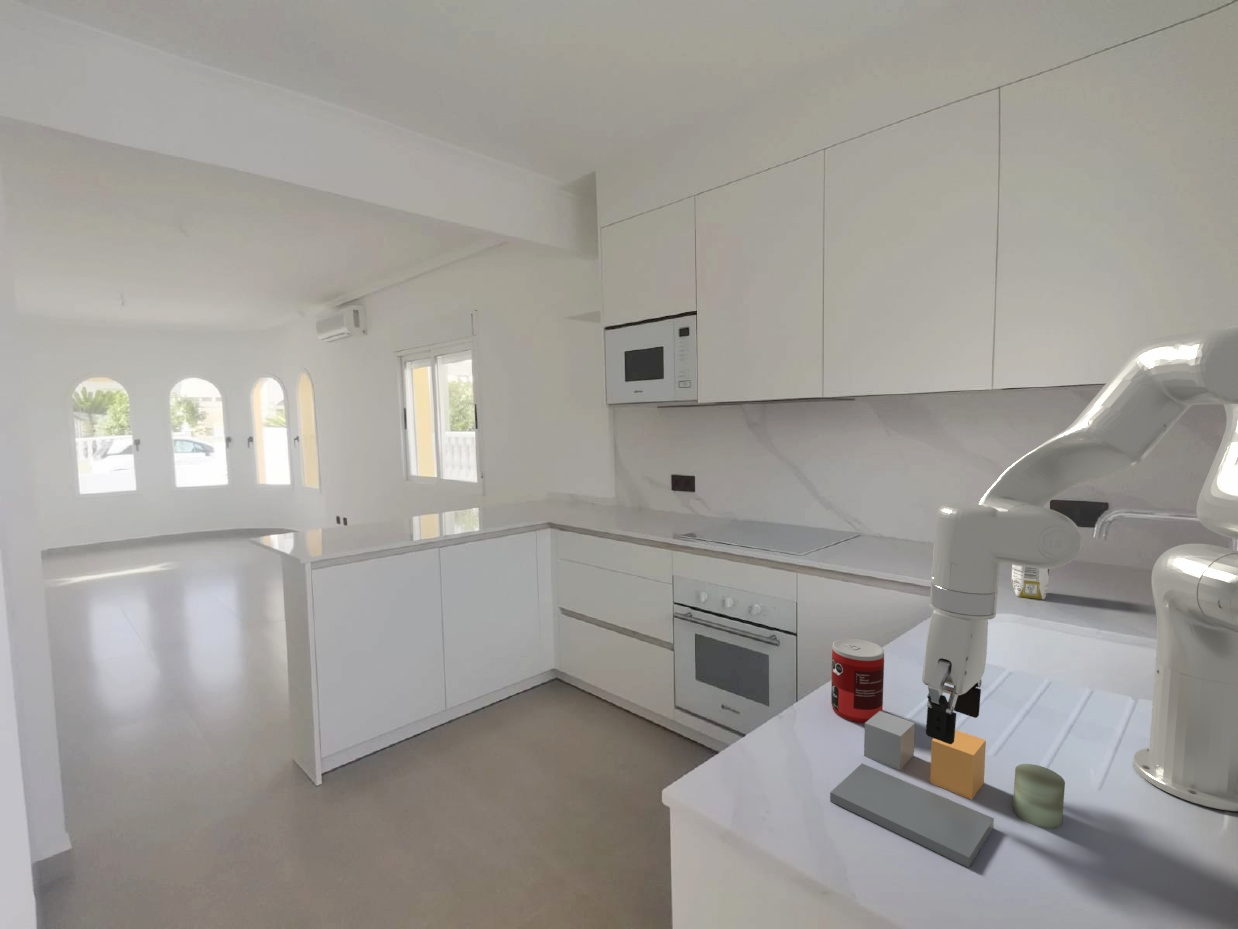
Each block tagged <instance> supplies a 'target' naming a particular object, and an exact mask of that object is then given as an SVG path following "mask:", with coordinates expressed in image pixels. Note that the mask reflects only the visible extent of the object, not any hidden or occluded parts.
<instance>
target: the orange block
mask: <svg viewBox="0 0 1238 929" xmlns="http://www.w3.org/2000/svg"><path fill="white" fill-rule="evenodd" d="M986 743H987V742H986V739H984V738H981V737H977V736H975V735H971V734H968V733H967V732H963V731H961V730H957V729H955V738H954V742H953V743H952V744H948V743H945V742H942V741H940V740H937V739H935V738H931V752H930V776H929V777H930V779H929V782H930V784H932V785H935V786H937V787H939V788H942V789H945V790H947V791H950V792H952V793H955V794H957V795H959V796H962V797H964V798H966V799H968V800H971V801H972V800H973V799H974V798H975V796H976V794H977V793H978V792H979V791H980V789H981V788H982V786H983V785H984V783H985V772H986V771H985V767H986V765H985V764H986V762H985V761H986V749H987V748H986Z"/></svg>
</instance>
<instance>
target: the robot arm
mask: <svg viewBox="0 0 1238 929" xmlns="http://www.w3.org/2000/svg"><path fill="white" fill-rule="evenodd" d="M1195 405H1196V406H1197V405H1223V407H1224V410H1225V411H1224V412H1225V416H1226V424H1225V430H1224V433H1223V436H1222V439H1221V442H1220V445H1219V446H1218V449H1217V451H1216V454H1215V456H1214V459H1213V461H1212V464H1211V465H1210V469H1209V471H1208V474H1207V476H1206V478H1205V480H1204V482H1203V485H1202V488H1201V490H1200V492H1199V496H1198V499H1197V502H1196V511H1195V512H1196V517H1197V519H1198V521H1199V523H1200V524H1201V525H1202V526H1203V527H1204V528H1206V529H1207V530H1209V531H1211V532H1213V533H1215V534H1216V535H1217V534H1218V535H1220V536H1223V537H1226V538H1230V539H1233V540H1237V541H1238V324H1235V325H1231V326H1228V327H1225V328H1222V329H1213V330H1207V331H1198V332H1192V333H1191V332H1190V333H1182V334H1175V335H1167V336H1163V337H1158V338H1155V339H1151V340H1149V341H1147V342H1145V343H1143V344H1142V345H1140V346H1139V347H1137V348H1136V349H1135V350H1134V351H1133V352H1132V353H1131V354H1130V355H1129V356H1127V358H1126V359H1125V361H1123V363H1122V364H1121V365H1120V367H1119V368H1118V369H1117V370H1115V373H1113V375H1112V376H1111V377H1110V379H1108V380H1107V382H1106V383H1105V384H1104V385H1103V387H1102V388H1101V389H1100V390H1099V392H1098V393H1097V394H1096V395H1095V396H1094V397H1093V398H1092V400H1091V401H1090V402H1088V404H1087V406H1086V407H1085V408H1084V409H1083V411H1082V412H1080V414H1079V415H1078V416H1077V417H1076V418H1075V420H1074V421H1073V422H1072V423H1071V424H1070V425H1069V426H1067V428H1065V429H1064V430H1063V431H1061V432H1059V433H1057V434H1056V435H1054V436H1052V437H1051V438H1049V439H1048V440H1046V441H1045V442H1043V443H1041V444H1040V445H1039V446H1037V447H1035V448H1034V449H1033V450H1031V451H1030V452H1028V453H1026V454H1025V455H1023V456H1021V457H1020V458H1019V459H1018V460H1016V461H1015V462H1013V463H1012V464H1010V466H1008V468H1006V469H1005V470H1004V471H1003V472H1002V473H1001V475H999V477H998V478H997V479H996V480H995V481H994V482H993V484H992V485H991V486H990V487H989V489H987V491H986V492H984V494H983V496H982V497H981V498H980V500H979V501H978V502H977V503H970V502H969V503H968V502H967V503H966V502H950V503H949V502H948V503H946V504H945V503H944V504H942V505H940V506H939V507H938V509H937V511H936V513H935V521H934V522H935V523H934V536H933V538H934V539H933V551H932V566H931V576H930V577H931V581H930V589H929V590H930V593H929V608H930V609H931V610H932V612H931V617H930V621H929V626H928V631H927V638H926V645H925V650H924V651H925V652H924V660H923V667H922V668H923V669H922V683H923V684H924V685H925V686H927V688H928V693H927V694H928V695H926V696H927V697H926V698H927V704H926V706H927V709H926V710H927V711H926V712H927V713H926V723H925V725H926V727H925V735H926V736H928V737H930V738H931V739H933V738H935V739H937V740H940V741H942V742H945V743H948V744H952V743H953V742H954V738H955V730H956V722H957V713H959V714H962V715H966V716H969V717H972V718H975V719H976V718H978V717H979V716H980V709H981V708H980V706H981V697H982V696H981V695H982V694H981V693H982V692H981V691H982V689H981V687H982V682H983V681H982V678H983V676H984V674H985V669H986V662H987V653H988V652H987V650H988V632H989V631H988V629H989V628H988V627H989V620H993V619H995V618H996V616H997V605H998V594H999V590H998V588H999V580H1000V579H999V578H1000V577H999V576H1000V567H1001V565H1002V564H1007V565H1012V564H1013V565H1019V566H1024V567H1030V568H1037V569H1049V570H1052V569H1057V568H1061V567H1063V566H1066V565H1068V564H1069V563H1071V562H1072V561H1074V559H1075V558H1076V557H1078V555H1079V553H1080V552H1081V549H1082V545H1083V537H1082V532H1081V530H1080V528H1079V527H1078V526H1077V524H1076V523H1075V521H1073V519H1071V518H1069V516H1067V515H1065V514H1063V513H1061V512H1059V511H1057V510H1055V509H1050V508H1047V507H1045V506H1047V504H1049V503H1050V502H1051V501H1052V500H1053V499H1055V498H1056V497H1057V496H1059V495H1060V494H1062V493H1064V492H1065V491H1068V490H1069V489H1071V488H1073V487H1076V486H1078V485H1081V484H1084V483H1087V482H1091V481H1094V480H1098V479H1103V478H1107V477H1110V476H1113V475H1117V474H1119V473H1123V472H1126V471H1128V470H1131V469H1134V468H1135V467H1137V466H1139V465H1141V463H1142V462H1143V461H1144V460H1146V458H1147V457H1148V455H1150V453H1151V452H1152V451H1153V450H1154V448H1156V446H1157V445H1158V444H1159V443H1160V442H1161V440H1162V439H1163V438H1164V437H1165V436H1166V435H1167V433H1169V432H1170V430H1171V429H1172V427H1173V426H1174V425H1175V424H1176V423H1177V422H1178V420H1180V418H1182V416H1183V415H1184V414H1185V413H1186V412H1187V411H1188V410H1189V409H1190V408H1191V407H1192V406H1195ZM1150 579H1151V591H1152V597H1153V602H1154V606H1155V607H1154V608H1155V613H1156V614H1155V616H1156V624H1157V625H1156V651H1155V652H1156V653H1155V661H1154V662H1155V663H1154V679H1153V680H1154V681H1153V693H1152V708H1151V718H1150V719H1151V721H1150V733H1149V734H1150V736H1149V747H1146V748H1142V749H1139V750H1137V751H1136V752H1135V753H1134V754H1133V759H1132V761H1133V762H1132V764H1133V767H1134V769H1135V770H1136V772H1137V773H1138V774H1139V775H1140V776H1141V777H1142V778H1144V780H1146V781H1147V782H1149V783H1150V784H1151V785H1153V786H1154V787H1156V788H1159V789H1160V790H1162V791H1164V792H1166V793H1169V794H1170V795H1173V796H1174V797H1177V798H1180V799H1182V800H1185V801H1186V802H1187V801H1188V802H1191V803H1193V804H1197V805H1199V806H1203V807H1207V808H1211V809H1217V810H1222V811H1228V812H1238V550H1236V549H1232V548H1227V547H1223V546H1220V545H1213V544H1208V543H1184V544H1180V545H1176V546H1174V547H1171V548H1169V549H1167V550H1165V551H1164V552H1162V554H1161V555H1160V556H1158V558H1157V559H1156V561H1155V563H1154V565H1153V567H1152V571H1151V578H1150ZM945 684H947V685H945ZM949 685H950V686H949ZM951 686H953V687H951ZM943 693H945V694H948V695H949V699H948V700H947V697H946V695H943Z"/></svg>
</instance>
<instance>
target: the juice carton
mask: <svg viewBox="0 0 1238 929" xmlns="http://www.w3.org/2000/svg"><path fill="white" fill-rule="evenodd" d="M1011 565H1012V566H1011V583H1012V588H1013V590H1014V593H1015V594H1014V595H1016V597H1020V598H1029V599H1037V600H1045V599H1046V596H1047V593H1048V590H1049V578H1050V576H1049V575H1050V569H1037V568H1030V567H1024V566H1019V565H1013V564H1011Z"/></svg>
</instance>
